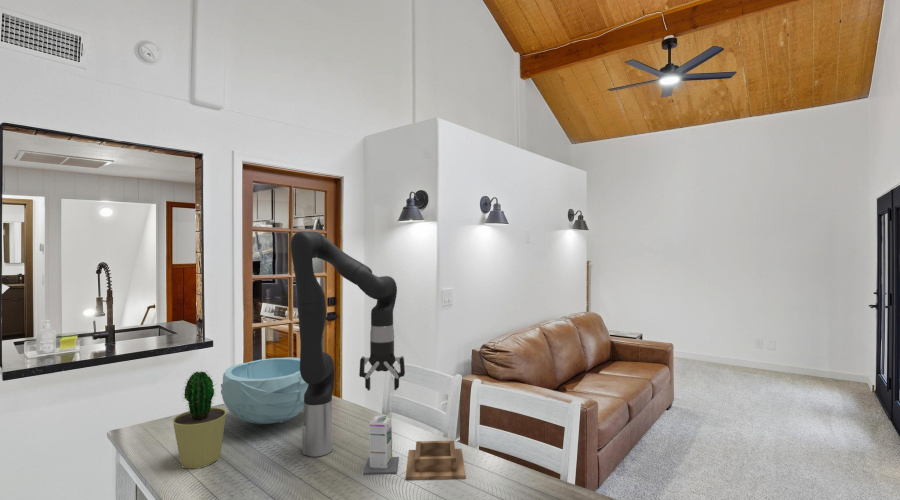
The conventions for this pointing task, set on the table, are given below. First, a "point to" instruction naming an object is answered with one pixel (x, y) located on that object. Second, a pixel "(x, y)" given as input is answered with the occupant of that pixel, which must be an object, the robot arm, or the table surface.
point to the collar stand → (435, 461)
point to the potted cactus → (199, 424)
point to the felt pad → (390, 470)
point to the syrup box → (380, 442)
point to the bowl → (264, 390)
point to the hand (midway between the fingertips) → (382, 389)
